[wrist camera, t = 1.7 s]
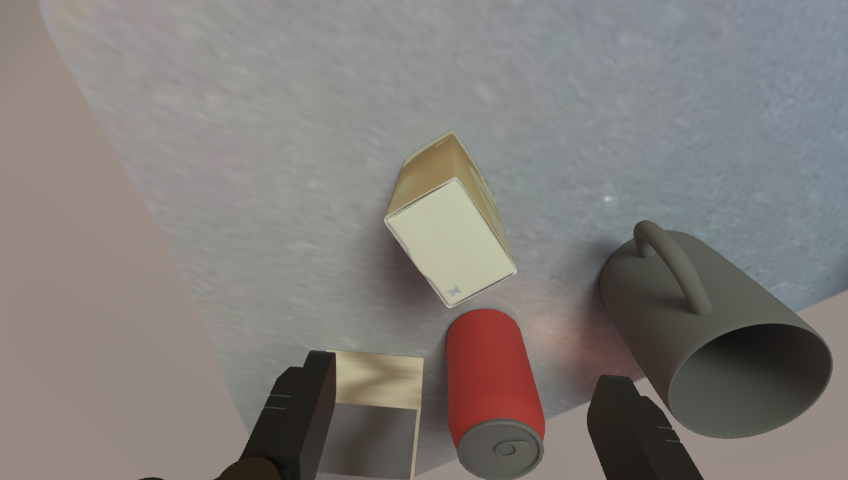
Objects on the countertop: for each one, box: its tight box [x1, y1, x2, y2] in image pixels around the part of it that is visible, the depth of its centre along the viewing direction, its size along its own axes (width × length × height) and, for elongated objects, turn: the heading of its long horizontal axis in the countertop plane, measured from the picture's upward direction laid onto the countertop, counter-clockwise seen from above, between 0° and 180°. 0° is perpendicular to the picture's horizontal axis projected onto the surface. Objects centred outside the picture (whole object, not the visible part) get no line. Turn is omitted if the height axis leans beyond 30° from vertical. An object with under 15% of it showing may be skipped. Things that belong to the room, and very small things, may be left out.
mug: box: [600, 220, 833, 439], centre depth 29 cm, size 14×9×12 cm
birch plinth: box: [317, 350, 423, 480], centre depth 39 cm, size 9×9×6 cm
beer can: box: [447, 309, 545, 480], centre depth 33 cm, size 7×7×12 cm
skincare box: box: [384, 130, 517, 308], centre depth 27 cm, size 6×4×12 cm
